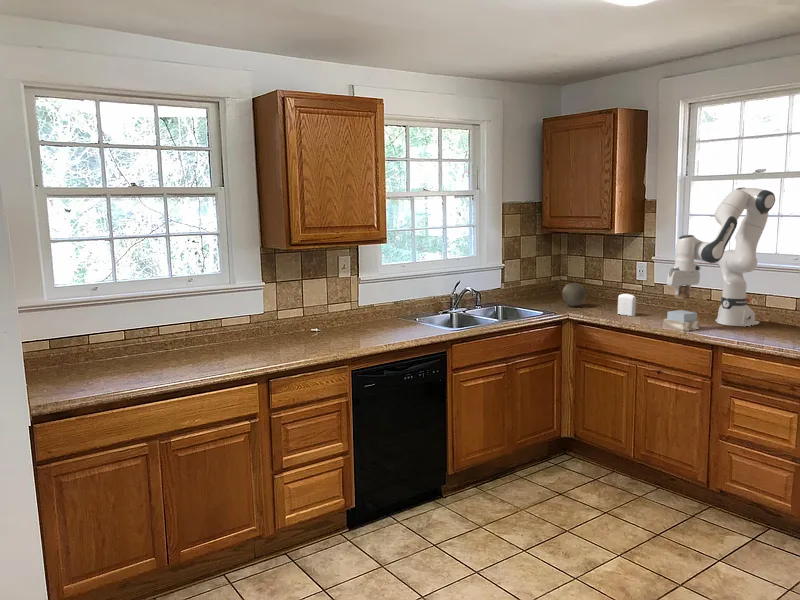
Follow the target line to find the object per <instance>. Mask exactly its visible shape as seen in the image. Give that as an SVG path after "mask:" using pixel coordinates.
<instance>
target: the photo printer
mask: <svg viewBox="0 0 800 600" xmlns="http://www.w3.org/2000/svg"><path fill="white" fill-rule="evenodd" d="M636 306H637V299H636V296H635V295H633V294H630V293H622V294H619V295H618V298H617V315H618V314H620V315H619V316H626V315H627V317H635V316H636Z"/></svg>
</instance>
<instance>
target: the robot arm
mask: <svg viewBox="0 0 800 600" xmlns="http://www.w3.org/2000/svg"><path fill="white" fill-rule="evenodd" d="M775 203H776V196H775V193H774V192H772V191H771V190H768V189H762V188H756V187H753V188H752V187H738V188H735V189H733V190H731V191H730V193H728V195H726V196H725V198H724V199H723V200H722V201H721V202H720V204H719V205H718V206H717V208H716V210H715V212H714V219H715V220H716V222H717V223H718V225H720V226H721V227H720V229H719V231H718V232H717V234H716V236H715V238H714V240H712V241H710V242H708V241H703V240H700V239H698V238H696V237H695V235H694V234H685V235H681V236H679V237H678V238H677V240H676V241H677V242H676V248H675V256H676V257H675V260H674V267H671V268H670V269H669V271H668V274H667V279H666V285H667V286H668V287H673V289H674V295H675V294H677V295H679V294H680V291H679V286H687V287H690V289H691V288H692V286H695V285H699V283H700V278H701V273H700V271H701V266H700V265H697V264H695V261H700V262H705V263H709V264H716V263H717V264H718V267H720V271H721V277H722V296H721V297H720V306H719V308H718V312H717V317H716V318H715V322H716V323H717V324H719V325H724V326H734V327H746V326H748V327H752V326H755V325H760V324H759V323H760V321H759V320H756V313H755V311H753V309H751V308H750V306H749V305H748V303H751V298H746V297H747V296H746V295H747V286H748V285H747V282H746V280H745V278H744V273H745V274H746V273H750V272H752V271H754V270H755V269H756V268H757V265H758V258H757V256H756V254H757V247H758V244H759V240H760V239H761V236H762V234H763V231H764V230H765V227H766V224H767V222H768V219H769V218H768V217H769V211H770V210H772V208H773V207H774V206H775ZM744 210H746V213H745V215H744V217H743V219H742V220H741V223H740V225H739V227H738V228H737V226H738V220H739V218H740V216H741V215H742V213H743V212H744ZM736 228H737V229H738V230H737V232H736V234H735V236H734V237H735V238H734V239H735V249H728V250H726V248H727V245H728V243H729V241H730V240H731V238H732V236H733V234H734V232H735V231H736ZM751 325H752V326H751Z"/></svg>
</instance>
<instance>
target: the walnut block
mask: <svg viewBox="0 0 800 600" xmlns="http://www.w3.org/2000/svg"><path fill="white" fill-rule="evenodd" d="M679 291H680V294H679V295H677V294H675V293H674V295H673V296H674V298H675V299H679V300H689V299H690V295H691V294H690V293H691V288H690V287H687V286H686V285H684V286H679Z"/></svg>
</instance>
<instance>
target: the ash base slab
mask: <svg viewBox="0 0 800 600" xmlns="http://www.w3.org/2000/svg"><path fill="white" fill-rule="evenodd" d="M662 326H663V327H666V328H665V329H667V328H671V329H670V330H672V329H675V330H674V331H677V330H679V331H678V332H681V331H685V332H690V331H689V330H692V331H697V330H696V329H699V330H700V320H698V319H697V321H690V322H679V321H674V320H669V319H667V318H663V325H662ZM663 327H662V328H663Z"/></svg>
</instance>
